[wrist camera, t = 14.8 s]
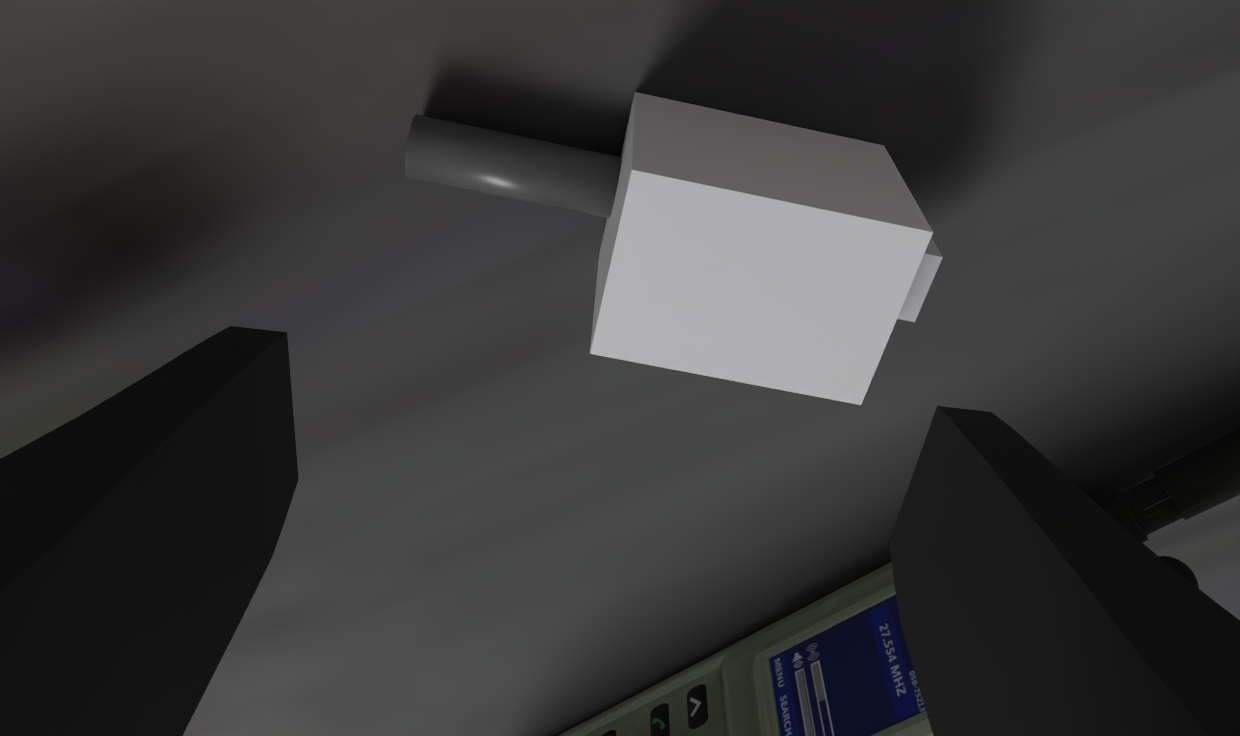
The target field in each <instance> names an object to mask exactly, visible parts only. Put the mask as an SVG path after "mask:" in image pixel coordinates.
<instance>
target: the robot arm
mask: <svg viewBox="0 0 1240 736" xmlns="http://www.w3.org/2000/svg"><path fill="white" fill-rule="evenodd" d="M297 482H298V468H297V455H296V442H295V430H294V417H293V404H292V391H291V379H290V366H289V353H288V340H287V333H286V332H277V331H269V330H260V329H251V328H242V327H233V326H230V327H228V328H226V329H224V330H223V331H221V332H219V333H217V334H215V335H213V336H212V337H210V338H208V339H206V340H205V341H203V342H201V343H200V344H198V345H196V346H195V347H193V348H191V349H190V350H188V351H186V352H185V353H183V354H181V355H180V356H178V357H177V358H175V359H173V360H172V361H170V362H168V363H167V364H165V365H164V366H162V367H160V368H159V369H157V370H155V371H154V372H152V373H151V374H149V375H147V376H146V377H144V378H142V379H141V380H139V381H137V382H136V383H134V384H132V385H131V386H129V387H127V388H126V389H124V390H122V391H121V392H119V393H117V394H116V395H114V396H112V397H111V398H109V399H107V400H106V401H104V402H102V403H101V404H99V405H97V406H96V407H94V408H92V409H91V410H89V411H87V412H86V413H84V414H82V415H80V416H79V417H77V418H75V419H73V420H71V421H69V422H68V423H66V424H64V425H62V426H60V427H58V428H57V429H55V430H53V431H51V432H49V433H47V434H46V435H44V436H42V437H40V438H38V439H36V440H34V441H33V442H31V443H29V444H27V445H25V446H23V447H22V448H20V449H18V450H16V451H14V452H12V453H11V454H9V455H7V456H5V457H3V458H1V459H0V736H183V734H184V732H185V729H186V727H187V725H188V723H189V721H190V720H191V718H192V716H193V714H194V712H195V710H196V708H197V706H198V704H199V702H200V700H201V698H202V696H203V694H204V692H205V690H206V688H207V686H208V684H209V682H210V680H211V678H212V676H213V674H214V672H215V670H216V668H217V666H218V664H219V662H220V660H221V658H222V656H223V654H224V652H225V650H226V648H227V646H228V644H229V642H230V640H231V639H232V637H233V635H234V633H235V631H236V629H237V627H238V625H239V623H240V621H241V619H242V617H243V615H244V613H245V611H246V609H247V607H248V605H249V603H250V601H251V599H252V597H253V595H254V593H255V591H256V589H257V587H258V585H259V583H260V580H261V578H262V576H263V574H264V572H265V570H266V568H267V566H268V564H269V562H270V560H271V558H272V555H273V553H274V550H275V547H276V544H277V541H278V539H279V536H280V533H281V530H282V527H283V524H284V522H285V519H286V516H287V512H288V509H289V506H290V503H291V500H292V497H293V494H294V491H295V488H296V485H297ZM889 547H890V554H891V562H892V570H893V577H894V585H895V591H896V598H897V604H898V610H899V616H900V622H901V626H902V630H903V633H904V637H905V641H906V644H907V648H908V651H909V655H910V658H911V661H912V665H913V668H914V672H915V675H916V679H917V682H918V686H919V689H920V693H921V696H922V699H923V703H924V706H925V709H926V713H927V716H928V719H929V723H930V726H931V729H932V733H933V736H1240V620H1239V619H1237V618H1236V617H1235V616H1233V615H1232V614H1230V613H1229V612H1228V611H1226V610H1225V609H1224V608H1222V607H1221V606H1220V605H1219V604H1217V603H1216V602H1215V601H1213V600H1212V599H1211V598H1210V597H1208V596H1207V595H1206V594H1205V593H1203V592H1202V591H1201V590H1200V589H1198V588H1197V587H1196V586H1195V585H1193V584H1192V583H1191V582H1189V581H1188V580H1187V579H1186V578H1184V577H1183V576H1182V575H1181V574H1179V573H1178V572H1177V571H1176V570H1174V569H1173V568H1172V567H1171V566H1169V565H1168V564H1167V563H1166V562H1164V561H1163V560H1162V559H1161V558H1160V557H1158V556H1157V555H1156V554H1155V553H1154V552H1152V551H1151V550H1150V549H1149V548H1148V547H1146V546H1145V545H1144V544H1143V543H1142V542H1140V541H1139V540H1138V539H1137V538H1136V537H1135V536H1133V535H1132V534H1131V533H1130V532H1129V531H1128V530H1126V529H1125V528H1124V527H1123V526H1122V525H1121V524H1119V523H1118V522H1117V521H1116V520H1115V519H1114V518H1113V517H1111V516H1110V515H1109V514H1108V513H1107V512H1106V511H1105V510H1103V509H1102V508H1101V507H1100V506H1099V505H1098V504H1097V503H1096V502H1094V501H1093V500H1092V499H1091V498H1090V497H1089V496H1088V495H1087V494H1085V493H1084V492H1083V491H1082V490H1081V489H1080V488H1079V487H1078V486H1076V485H1075V484H1074V483H1073V482H1072V481H1071V480H1070V479H1069V478H1068V477H1066V476H1065V475H1064V474H1063V473H1062V472H1061V471H1060V470H1059V469H1058V468H1056V467H1055V466H1054V465H1053V464H1052V463H1051V462H1050V461H1049V460H1048V459H1046V458H1045V457H1044V456H1043V455H1042V454H1041V453H1040V452H1039V451H1037V450H1036V449H1035V448H1034V447H1033V446H1032V445H1031V444H1029V443H1028V442H1027V441H1026V440H1025V439H1024V438H1023V437H1021V436H1020V435H1019V434H1018V433H1017V432H1016V431H1014V430H1013V429H1012V428H1011V427H1010V426H1008V425H1007V424H1006V423H1005V422H1003V421H1002V420H1001V419H1000V418H998V417H997V416H996V415H994V414H993V413H992V412H985V411H976V410H968V409H959V408H950V407H941V406H937V408H936V411H935V414H934V417H933V420H932V422H931V425H930V428H929V431H928V434H927V437H926V439H925V442H924V445H923V448H922V451H921V454H920V456H919V459H918V462H917V465H916V468H915V470H914V473H913V476H912V479H911V482H910V485H909V487H908V490H907V493H906V496H905V499H904V502H903V504H902V507H901V510H900V513H899V516H898V518H897V521H896V524H895V527H894V530H893V533H892V535H891V538H890V541H889Z"/></svg>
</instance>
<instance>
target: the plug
mask: <svg viewBox="0 0 1240 736" xmlns="http://www.w3.org/2000/svg"><path fill="white" fill-rule="evenodd" d="M405 176H406V177H409V178H414V179H418V180H423V181H428V182H433V183H438V184H443V185H448V186H453V187H458V188H463V189H468V190H473V191H478V192H483V193H488V194H492V195H497V196H502V197H507V198H512V199H517V200H522V201H527V202H532V203H537V204H542V205H547V206H552V207H557V208H562V209H566V210H571V211H576V212H581V213H586V214H591V215H596V216H601V217H606V218H607V221H606V226H605V230H604V235H603V239H602V244H601V248H600V253H599V263H598V274H597V285H596V295H595V306H594V316H593V327H592V337H591V348H590V354H594V355H600V356H605V357H610V358H616V359H621V360H626V361H631V362H637V363H642V364H647V365H652V366H658V367H663V368H668V369H674V370H679V371H684V372H689V373H695V374H700V375H705V376H710V377H716V378H721V379H726V380H731V381H737V382H742V383H747V384H753V385H758V386H763V387H768V388H774V389H779V390H784V391H789V392H795V393H800V394H805V395H811V396H816V397H821V398H826V399H832V400H837V401H842V402H847V403H853V404H858V405H861V404H862V402H863V399H864V397H865V394H866V392H867V390H868V387H869V385H870V382H871V380H872V378H873V375H874V373H875V370H876V368H877V366H878V363H879V361H880V358H881V356H882V354H883V351H884V349H885V346H886V344H887V342H888V339H889V337H890V335H891V332H892V330H893V327H894V325H895V323H896V320H897V319H901V320H907V321H912V322H915V320H916V318H917V316H918V313H919V311H920V309H921V306H922V304H923V302H924V299H925V297H926V295H927V292H928V290H929V288H930V285H931V283H932V281H933V278H934V276H935V274H936V271H937V269H938V267H939V264H940V262H941V260H942V258H943V257H942V255H941V253H940V252H939V250H938V248H937V246H936V244H935V243H934V241H933V239H932V238H931V236H932V234H933V231H932V229H931V228H930V226H929V224H928V222H927V220H926V219H925V217H924V215H923V213H922V212H921V210H920V208H919V206H918V205H917V203H916V201H915V199H914V198H913V196H912V194H911V192H910V190H909V189H908V187H907V185H906V183H905V182H904V180H903V178H902V176H901V175H900V173H899V171H898V169H897V168H896V166H895V164H894V162H893V161H892V159H891V157H890V155H889V153H888V152H887V150H886V148H885V146H884V145H880V144H875V143H870V142H866V141H861V140H856V139H852V138H847V137H842V136H838V135H833V134H828V133H824V132H819V131H814V130H810V129H805V128H801V127H796V126H791V125H787V124H782V123H777V122H773V121H768V120H763V119H759V118H754V117H749V116H745V115H740V114H735V113H731V112H726V111H721V110H717V109H712V108H707V107H703V106H698V105H694V104H689V103H684V102H680V101H675V100H670V99H666V98H661V97H656V96H652V95H647V94H642V93H638V92H635V93H634V98H633V102H632V107H631V112H630V116H629V121H628V125H627V130H626V134H625V139H624V143H623V148H622V153H621V157H618V156H613V155H609V154H604V153H599V152H594V151H590V150H585V149H580V148H575V147H570V146H566V145H561V144H556V143H551V142H546V141H542V140H537V139H532V138H527V137H522V136H518V135H513V134H508V133H503V132H498V131H494V130H489V129H484V128H479V127H475V126H470V125H465V124H460V123H455V122H451V121H446V120H441V119H436V118H431V117H427V116H422V115H417V114H416V115H415V116H414V118H413V121H412V124H411V128H410V132H409V136H408V141H407V147H406V155H405Z"/></svg>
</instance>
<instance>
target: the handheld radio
mask: <svg viewBox="0 0 1240 736" xmlns="http://www.w3.org/2000/svg"><path fill="white" fill-rule="evenodd" d="M1153 473H1154V475H1155V476H1156V477H1154V478H1152V479H1150V480H1148V481H1146V482H1144V483H1142V484H1140V485H1138V486H1136V487H1134V488H1132V489H1130V490H1128V491H1126V492H1124V493H1122V494H1118V493H1117V492H1116V491H1115V492H1113V493H1111V494H1109V495H1107V496H1105V497H1103V498H1101V499H1099V500H1097V501H1095V502H1096V503H1097V504H1098V505H1099V506H1100V507H1101V508H1102V509H1103V510H1105V511H1106V512H1107V513H1108V514H1109V515H1110V516H1111V517H1113V518H1114V519H1115V520H1116V521H1117V522H1118V523H1119V524H1121V525H1122V526H1123V527H1124V528H1125V529H1126V530H1128V531H1129V532H1130V533H1131V534H1132V535H1133V536H1135V537H1136V538H1137V539H1138V540H1139V541H1140V542H1142V543H1143V542H1145V541H1147V540H1148V538H1147V535H1148V534H1150V533H1152V532H1154V531H1156V530H1158V529H1160V528H1162V527H1164V526H1167V525H1169V524H1171V523H1173V522H1175V521H1177V520H1179V519H1181V518H1183V517H1184V519H1185V520H1186V519H1189V518H1191V517H1193V516H1195V515H1197V514H1199V513H1201V512H1204V511H1206V510H1208V509H1210V508H1212V507H1214V506H1216V505H1219V504H1221V503H1223V502H1225V501H1227V500H1229V499H1231V498H1234V497H1236V496H1238V495H1240V429H1238V430H1236V431H1234V432H1232V433H1230V434H1228V435H1226V436H1224V437H1222V438H1220V439H1218V440H1216V441H1214V442H1212V443H1210V444H1208V445H1206V446H1204V447H1202V448H1200V449H1198V450H1196V451H1194V452H1192V453H1190V454H1188V455H1186V456H1184V457H1182V458H1180V459H1178V460H1176V461H1174V462H1172V463H1170V464H1168V465H1166V466H1164V467H1162V468H1160V469H1158V470H1156V471H1154V472H1153ZM1159 557H1160V558H1161V559H1162V560H1163V561H1164V562H1166V563H1167V564H1168V565H1169V566H1171V567H1172V568H1173V569H1174V570H1176V571H1177V572H1178V573H1179V574H1181V575H1182V576H1183V577H1184V578H1186V579H1187V580H1188V581H1189V582H1191V583H1192V584H1193V585H1195V586H1196V587H1197V588H1198V589H1199V587H1198V582H1197V579H1196V577H1195V575H1194V573H1193V572H1192V571H1191V569H1190V568H1189V567H1188V566H1187V565H1185V564H1184V563H1183V562H1181V561H1179V560H1178V559H1175V558H1172V557H1167V556H1159ZM558 736H933V733H932V729H931V726H930V723H929V719H928V716H927V713H926V709H925V706H924V703H923V699H922V696H921V693H920V689H919V686H918V682H917V679H916V675H915V672H914V668H913V665H912V661H911V658H910V655H909V651H908V648H907V644H906V641H905V637H904V633H903V630H902V626H901V622H900V616H899V610H898V604H897V598H896V591H895V585H894V577H893V570H892V562H890V563H888V564H886V565H884V566H882V567H880V568H878V569H876V570H875V571H873V572H871V573H869V574H867V575H865V576H863V577H861V578H859V579H857V580H855V581H853V582H852V583H850V584H848V585H846V586H844V587H842V588H840V589H838V590H836V591H834V592H832V593H830V594H829V595H827V596H825V597H823V598H821V599H819V600H817V601H815V602H813V603H811V604H809V605H807V606H806V607H804V608H802V609H800V610H798V611H796V612H794V613H792V614H790V615H788V616H786V617H784V618H783V619H781V620H779V621H777V622H775V623H773V624H771V625H769V626H767V627H765V628H763V629H761V630H760V631H758V632H756V633H754V634H752V635H750V636H748V637H746V638H744V639H742V640H740V641H738V642H737V643H735V644H733V645H731V646H729V647H727V648H725V649H723V650H721V651H719V652H717V653H715V654H713V655H712V656H710V657H708V658H706V659H704V660H702V661H700V662H698V663H696V664H694V665H692V666H690V667H689V668H687V669H685V670H683V671H681V672H679V673H677V674H675V675H673V676H671V677H669V678H667V679H666V680H664V681H662V682H660V683H658V684H656V685H654V686H652V687H650V688H648V689H646V690H644V691H643V692H641V693H639V694H637V695H635V696H633V697H631V698H629V699H627V700H625V701H623V702H621V703H620V704H618V705H616V706H614V707H612V708H610V709H608V710H606V711H604V712H602V713H600V714H598V715H597V716H595V717H593V718H591V719H589V720H587V721H585V722H583V723H581V724H579V725H577V726H575V727H574V728H572V729H570V730H568V731H566V732H564V733H562V734H560V735H558Z"/></svg>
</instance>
